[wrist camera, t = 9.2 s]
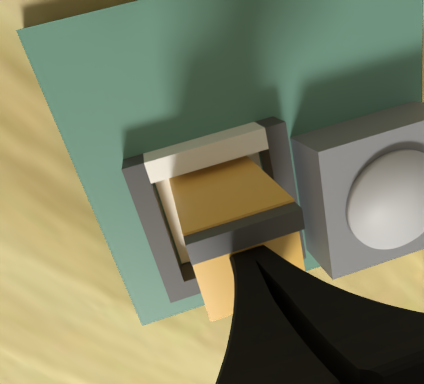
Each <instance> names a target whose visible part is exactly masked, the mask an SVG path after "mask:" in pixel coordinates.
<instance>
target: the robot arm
mask: <svg viewBox="0 0 424 384" xmlns="http://www.w3.org/2000/svg"><path fill="white" fill-rule="evenodd" d="M229 259H230V263H231V267H232V271H233V275H234V307H233V317H232V324H231V330H230V335H229V340H228V344H227V349H226V353H225V356H224V360H223V363H222V366H221V369H220V372H219V375H218V378H217V381H216V384H424V313H422V312H416V311H412V310H407V309H403V308H399V307H395V306H391V305H387V304H384V303H380V302H377V301H373V300H370V299H367V298H364V297H361V296H358V295H355V294H353V293H350V292H347V291H345V290H342V289H340V288H338V287H335V286H333V285H330V284H328V283H326V282H324V281H322V280H320V279H318V278H316V277H314V276H312V275H311V274H309V273H307V272H305V271H303V270H302V269H300V268H298V267H297V266H295V265H293V264H292V263H290V262H289V261H287V260H285V259H284V258H282V257H281V256H279V255H278V254H276V253H275V252H274V251H272V250H271V249H269V248H268V247H266V246H265V245H261V246H258V247H255V248H251V249H248V250H245V251H242V252H239V253H236V254H233V255H231V257H230V258H229Z"/></svg>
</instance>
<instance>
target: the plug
mask: <svg viewBox="0 0 424 384" xmlns="http://www.w3.org/2000/svg"><path fill="white" fill-rule="evenodd" d="M169 182H170V186H171V190H172V194H173V198H174V202H175V206H176V210H177V214H178V218H179V222H180V226H181V230H182V234H183V238H184V242H185V245H186V249H187V252H188V255H189V258H190V261H191V264H192V266H193V269H194V272H195V275H196V278H197V282H198V285H199V288H200V291H201V294H202V297H203V300H204V304H205V307H206V310H207V313H208V316H209V319H210V322H212V321H215V320H218V319H221V318H224V317H227V316H230V315H233V307H234V275H233V271H232V267H231V263H230V259H229V258H230V257H231V255H233V254H236V253H239V252H242V251H245V250H248V249H251V248H255V247H258V246H261V245H265V246H266V247H268V248H269V249H271V250H272V251H274V252H275V253H276V254H278V255H279V256H281V257H282V258H284V259H285V260H287V261H289V262H290V263H292V264H293V265H295V266H297V267H298V268H300V269H302V270H303V271H305V266H304V260H303V253H302V247H301V240H300V234H299V231H301V230H304V229H305V225H304V218H303V211H302V208H301V207H300V206H299V205H298V204H297V203H296V202H295V201H294V198H293V197H291V196H290V195H289V194H288V193H287V192H286V191H285V190H284V189H283V188H282V187H280V186H279V185H278V184H277V183H276V182H275V181H274V180H273V179H272V178H271V177H270V176H268V175H267V174H266V173H265V172H264V171H263V170H262V169H261V168H260V167H259V166H257V165H256V164H255V163H254V162H253V161H252V160H251V159H250V158H249V157H248V156H243V157H239V158H236V159H233V160H229V161H226V162H222V163H219V164H216V165H212V166H209V167H206V168H202V169H199V170H195V171H192V172H189V173H185V174H182V175H179V176H175V177H172V178H169Z"/></svg>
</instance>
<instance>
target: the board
mask: <svg viewBox="0 0 424 384" xmlns="http://www.w3.org/2000/svg"><path fill="white" fill-rule="evenodd" d="M16 31H17V33H18V36H19V38H20V40H21V43H22V45H23V47H24V50H25V52H26V54H27V57H28V59H29V61H30V64H31V66H32V68H33V71H34V73H35V75H36V78H37V80H38V82H39V85H40V87H41V90H42V92H43V94H44V97H45V99H46V101H47V104H48V106H49V108H50V111H51V113H52V115H53V118H54V120H55V122H56V125H57V127H58V129H59V132H60V134H61V136H62V139H63V141H64V143H65V146H66V148H67V150H68V153H69V155H70V157H71V160H72V162H73V164H74V167H75V169H76V172H77V174H78V176H79V179H80V181H81V183H82V186H83V188H84V190H85V193H86V195H87V197H88V200H89V202H90V204H91V207H92V209H93V211H94V214H95V216H96V218H97V221H98V223H99V225H100V228H101V230H102V232H103V235H104V237H105V239H106V242H107V244H108V247H109V249H110V251H111V254H112V256H113V258H114V261H115V263H116V265H117V268H118V270H119V272H120V275H121V277H122V279H123V282H124V284H125V286H126V289H127V291H128V293H129V296H130V298H131V300H132V303H133V305H134V307H135V310H136V312H137V314H138V317H139V319H140V322H141V324H142V326H143V325H146V324H149V323H152V322H155V321H158V320H161V319H164V318H167V317H170V316H173V315H176V314H179V313H182V312H185V311H188V310H191V309H194V308H197V307H200V306H203V305H205V304H204V300H203V297H202V294H201V291H200V288H199V285H198V282H197V278H196V275H195V272H194V269H193V266H192V264H191V261H190V258H189V255H188V252H187V249H186V245H185V242H184V238H183V234H182V230H181V226H180V222H179V218H178V214H177V210H176V206H175V202H174V198H173V194H172V190H171V186H170V182H169V178H172V177H175V176H179V175H182V174H185V173H189V172H192V171H195V170H199V169H202V168H206V167H209V166H212V165H216V164H219V163H222V162H226V161H229V160H233V159H236V158H239V157H243V156H248V157H249V158H250V159H251V160H252V161H253V162H254V163H255V164H256V165H257V166H259V167H260V168H261V169H262V170H263V171H264V172H265V173H266V174H267V175H268V176H270V177H271V178H272V179H273V180H274V181H275V182H276V183H277V184H278V185H279V186H280V187H282V188H283V189H284V190H285V191H286V192H287V193H288V194H289V195H290V196H291V197H293V198H294V201H295V202H296V203H297V204H298V205H299V206H300V207H301V208H302V211H303V218H304V225H305V229H304V230H301V231H299V234H300V240H301V247H302V253H303V260H304V266H305V271H308V270H311V269H314V268H317V267H320V266H321V267H322V268H323V269H324V270H325V271H326V272H327V274H328V275H329V276H330V277H331V278H332V279H336V278H339V277H342V276H345V275H348V274H351V273H354V272H357V271H360V270H363V269H366V268H369V267H372V266H375V265H378V264H380V263H383V262H386V261H389V260H392V259H395V258H398V257H401V256H404V255H407V254H410V253H413V252H416V251H419V250H422V249H424V103H422V31H423V0H137V1H133V2H129V3H125V4H121V5H117V6H113V7H109V8H105V9H101V10H97V11H93V12H89V13H84V14H80V15H76V16H72V17H68V18H64V19H60V20H56V21H52V22H48V23H44V24H40V25H36V26H31V27H27V28H23V29H19V30H16Z"/></svg>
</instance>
